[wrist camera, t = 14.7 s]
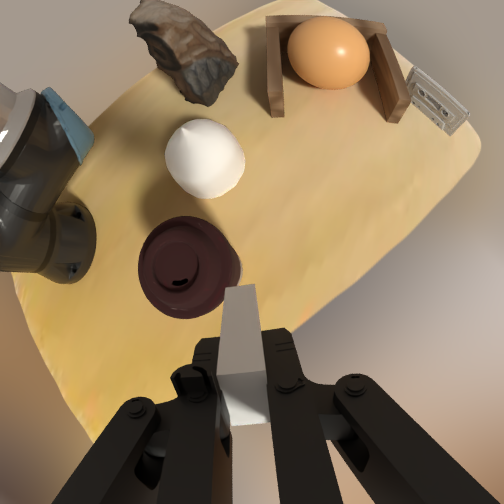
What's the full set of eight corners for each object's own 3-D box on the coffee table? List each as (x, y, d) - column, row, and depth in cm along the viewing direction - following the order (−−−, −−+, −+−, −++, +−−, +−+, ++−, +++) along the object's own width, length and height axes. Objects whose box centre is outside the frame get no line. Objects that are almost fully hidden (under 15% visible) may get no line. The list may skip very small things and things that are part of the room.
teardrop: (210, 123, 41) (185, 79, 30) (260, 159, 40) (248, 116, 28) (164, 172, 42) (125, 140, 30) (210, 214, 40) (177, 189, 28)
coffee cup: (201, 225, 40) (152, 198, 25) (263, 251, 38) (245, 234, 23) (175, 288, 39) (116, 292, 25) (236, 317, 38) (202, 340, 23)
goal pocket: (271, 117, 40) (266, 87, 32) (270, 45, 41) (265, 16, 34) (397, 123, 37) (413, 97, 29) (375, 50, 38) (383, 23, 31)
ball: (280, 54, 28) (277, 6, 29) (296, 106, 40) (293, 55, 41) (380, 51, 24) (360, 2, 25) (374, 105, 37) (361, 53, 38)
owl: (211, 113, 41) (165, 29, 22) (154, 102, 44) (98, 36, 24) (242, 63, 42) (217, -20, 22) (186, 56, 44) (148, -13, 24)
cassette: (398, 93, 37) (410, 67, 30) (402, 88, 37) (415, 63, 30) (449, 138, 35) (469, 118, 28) (452, 133, 35) (472, 112, 28)
